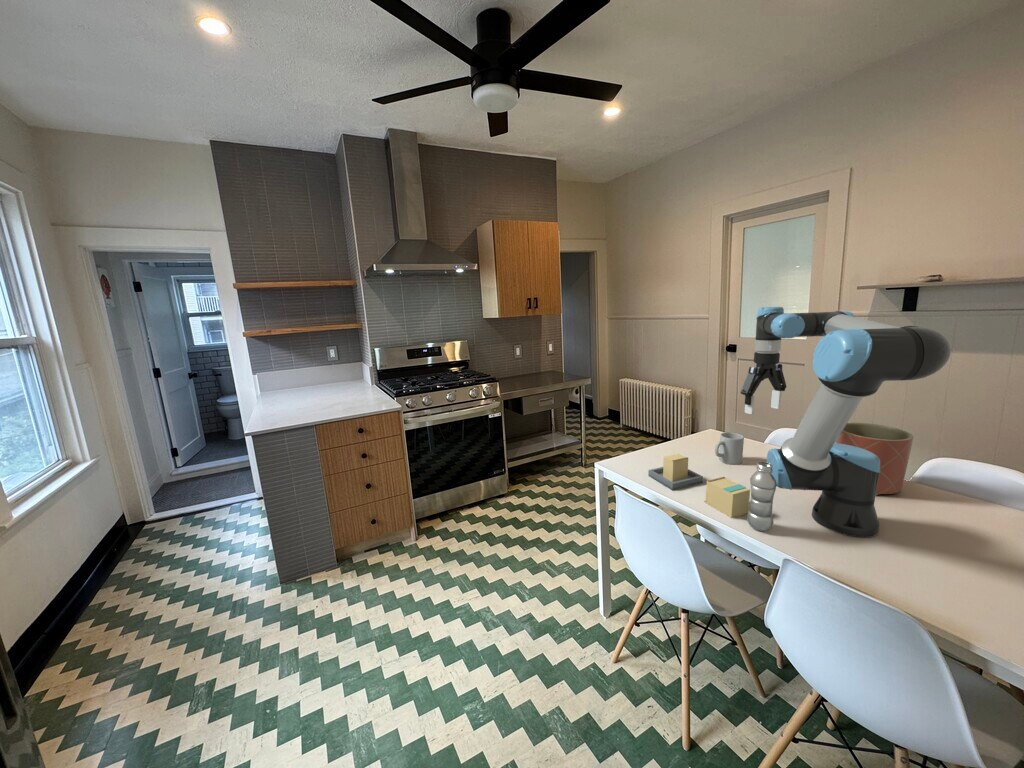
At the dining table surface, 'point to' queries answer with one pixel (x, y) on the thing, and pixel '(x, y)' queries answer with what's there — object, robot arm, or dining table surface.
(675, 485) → the tray
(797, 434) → the robot arm
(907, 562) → the dining table surface
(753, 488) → the plastic bottle
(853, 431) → the planter
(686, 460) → the plain tan block
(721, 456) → the mug
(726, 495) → the tan teal-banded block
